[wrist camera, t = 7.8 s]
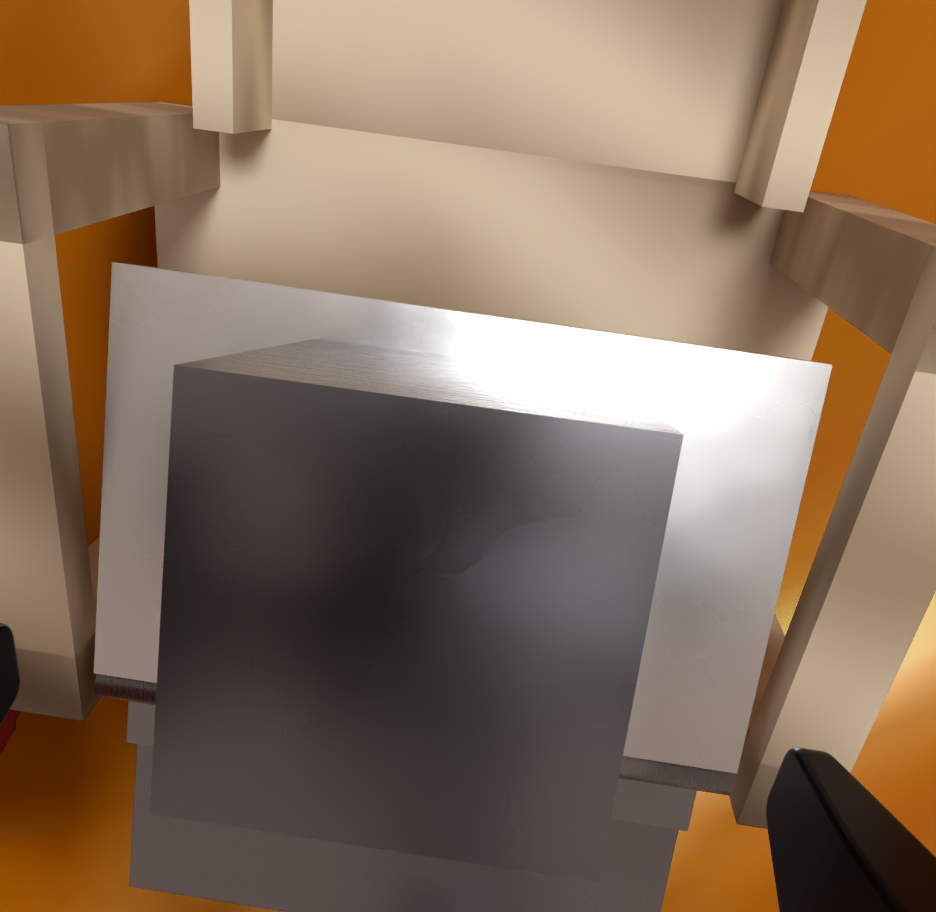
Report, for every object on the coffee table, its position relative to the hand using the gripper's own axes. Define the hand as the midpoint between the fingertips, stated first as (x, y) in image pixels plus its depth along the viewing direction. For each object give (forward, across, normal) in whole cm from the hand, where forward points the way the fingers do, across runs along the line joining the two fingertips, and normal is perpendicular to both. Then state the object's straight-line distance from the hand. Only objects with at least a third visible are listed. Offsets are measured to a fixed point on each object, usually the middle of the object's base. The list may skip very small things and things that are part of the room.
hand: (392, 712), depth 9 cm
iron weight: (+5, 0, 0) cm, 5 cm away
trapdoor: (+10, 0, +4) cm, 11 cm away
